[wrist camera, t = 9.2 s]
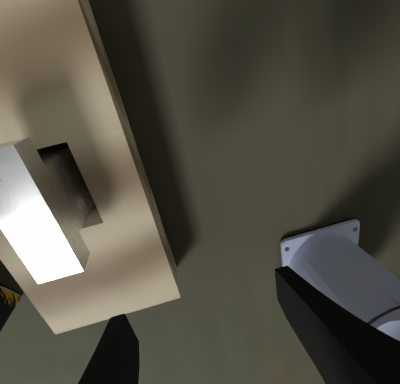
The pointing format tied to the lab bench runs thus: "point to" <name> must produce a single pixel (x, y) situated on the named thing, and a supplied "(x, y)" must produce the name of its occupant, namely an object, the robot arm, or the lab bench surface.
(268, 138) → the lab bench surface
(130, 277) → the beige slab
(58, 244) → the grey rectangular prism
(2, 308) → the medicine bottle
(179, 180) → the lab bench surface
